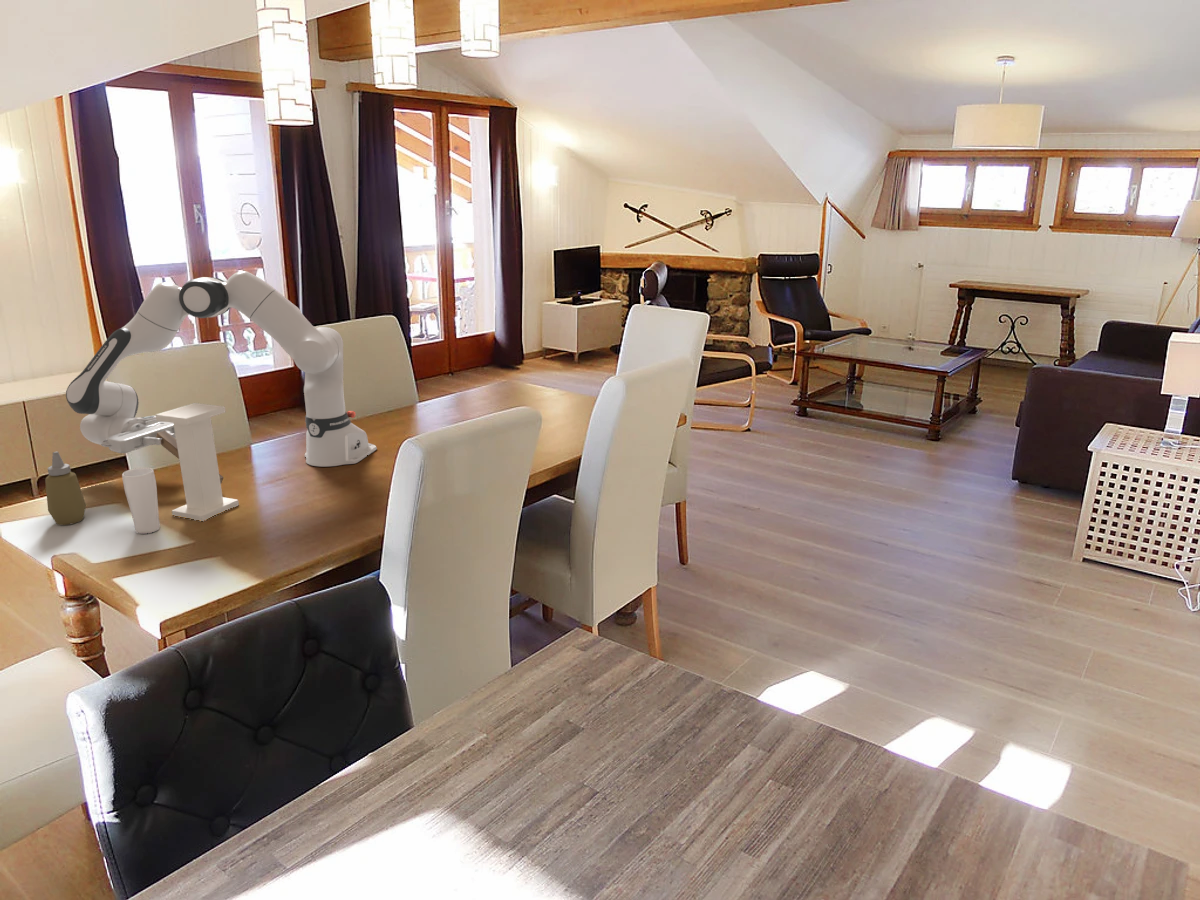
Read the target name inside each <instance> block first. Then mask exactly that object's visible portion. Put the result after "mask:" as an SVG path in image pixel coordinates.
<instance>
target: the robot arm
mask: <svg viewBox="0 0 1200 900" xmlns="http://www.w3.org/2000/svg"><path fill="white" fill-rule="evenodd" d="M231 308H232V309H235V310H237V311H239V312H240V313H242V314H243V315H244V316H245V317H246V318H248V319H249V320H250V321H252V322H253V323H254V324H255V325H257V326H258V327H259V328H260V329H262V330H263V331H264V332H265V333H267V334H268V335H269V336H270V337H272V339H273V340H274V341H276V342H277V344H278V345H279V346H280V347H281V348H282V349H283V350H284V352H286V354H287V355H288V356H289V357H290V358H291V359H292V360H293V361H294V364H295V365H296V367H297V369H299V370H301V371H302V372H304V385H303V393H304V394H303V395H304V403H305V412H306V415H305V421H304V423H305V427H306V429H307V430H306V433H305V436H306V437H305V439H306V441H305V442H306V444H305V445H306V448H305V450H306V452H305V453H304V458H305V457H306V458H305V463H306V464H307V465H309V466H314V467H320V468H321V467H337V466H342V465H354V464H357V463H359V462H360V461H362V460H363V459H365V458H367V457H368V456H369V455H371V454H372V453H374V452H375V451H376V450H377V449H378V448H377V446H376V445H375V444H373V443H369V440H368V439H369V438H368V435H367V433H366V431H365V430H363V429H361V428H360V427H358V426H357V425H355V424H354V423H352V421H351V419H354V418H355V417H356V415H357V414H356V411H354V410H348V411H346V403H345V395H344V340H343V338H342V335H341V333H340V332H338V331H337V330H336V329H334V328H332V327H329V326H319V327H315V326H314V325H312V323H311V322H310V321H309V320H308V319H307V318H306V317H305V315H304V314H303V313H302V311H301V309H300V308H299V307H298V306H296V305H295V304H294V303H292V301H291V300H289V299H288V298H286V297H285V296H284V295H283V294H282V293H281V292H279V291H278V290H276V289H275V288H274V287H273V285H270V284H269V283H268V282H266V281H265V280H263V279H262V278H260V277H259V276H257V275H255V274H253V273H251V272H250V271H247V270H240V271H237V272H235V273H233V274H232V275H230V277H229V278H228V279H226V280H225V281H224V280H223V279H222V278H218V277H213V276H211V277H207V276H202V277H197V278H193V279H190V280H188V281H186V282H185V283H184V284H183V286H179V285H177V284H174V283H172V282H164V281H163V282H159V283H158V284H156V285H155V286H154V287H153V288H152V290H151V291H149V293H148V295H146V297H145V299H144V300H143V301H142V303H141V305H140V307H139V308H138V310H137V312H135V314H134V316H133V317H132V318H131V319H130V320H129V322H127V323H126V324H125V325H124V326H122V327H121V328H118V329H116V330H114V331H113V332H112V333H111V334H110V335H109V336H108V338H107V339H106V340H105V341H104V342H103V344H102V345H101V346H100V347H99V349H98V350H97V352H96V353H95V354H94V355H93V357H92V358H91V360H90V361H89V362H88V364H87V365H86V366H85V367H84V369H83V370H82V372H80V373H79V374H78V375H77V376H76V377H75V378H74V379H73V380H71V382H70V383H69V385H68V386H67V388H66V391H65V397H66V398H65V399H66V401H67V404H68V405H69V407H70V408H71V410H73V411H74V412H75V413H77V414H82V415H85V416H84V417H83V418H82V419H81V420H80V424H79V430H80V432H81V434H82V436H83V438H85V439H86V440H88V441H89V442H91V443H93V444H97V445H100V446H101V447H105V448H108V449H109V450H110V452H111V451H112V452H115V453H118V454H127V453H131V452H133V451H136V450H140V449H142V448H146V447H148V446H162V445H161V444H163V443H164V441H163V438H162V437H156V435H157V433H158V432H161V431H164V430H165V431H166V432H167V433H169V434H170V435H171V436H172V437H174V438H175V439H176V436H175V430H174V424H173V423H171V422H163V421H156V415H147V416H141V417H136V415H137V413H138V410H139V403H140V402H139V397H138V393H137V391H136V390H135V389H134V388H133V387H132V386H131V385H129V384H124V383H119V382H113V381H107V380H108V378H109V377H110V375H111V374H112V372H113V371H114V370H115V369H116V367H117V366H118V365H119V364H120V362H121V361H122V360H124V359H126V358H128V357H130V356H133V355H136V354H137V355H138V354H143V353H144V354H145V353H152V352H153V353H154V352H157V351H160V350H163V349H165V348H167V347H168V346H169V345H170V344H171V343H172V342H173V340H174V339H175V337H176V335H177V333H178V331H179V330H180V327H181V325H182V324H183V322H184V321H185V319H186V318H187V317H188V316H189V315H190V316H192V317H195V318H197V319H207V318H215V317H219V316H222V315H223V314H226V313H227V312H228V311H229V310H230V309H231ZM350 418H351V419H350ZM367 455H368V456H367Z"/></svg>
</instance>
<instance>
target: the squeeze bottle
mask: <svg viewBox="0 0 1200 900" xmlns="http://www.w3.org/2000/svg"><path fill="white" fill-rule="evenodd" d="M51 460H52V462H51V465H50V466H49V467H47V468H46V469H47V472H48V473H47V474H48V475H47V476H46V477H45V479H44V480H45V492H46V493H45V494H46V500H47V503H46V504H47V510H48V512H49V515H50V516H51V518H52V519H53V521H54V522H55V524H56V525H59V526H68V525H74V524H76V523H79V522H81V521H83V520H84V518H85V512H86V507H87V506H86V505H87V503H86V501H85V497H84V495H83V492H82V491H83V490H82V489H81V485H80V483H79V479H78V477H77V474H76V473H75V472H72V470H71V466H70V464H68V463H64V461H63V458H62V457H61V455H60V453H59V451H54V452H52V459H51Z"/></svg>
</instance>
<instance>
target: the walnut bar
mask: <svg viewBox="0 0 1200 900" xmlns="http://www.w3.org/2000/svg"><path fill="white" fill-rule="evenodd" d="M156 437H162V438H163V441H164V443H163V444H161V445H160V446H161V447H163V448H164V449H165V450H167V451H168V452H169V453H171V454H172V455H173V456H174V457H175V458H176V459H178V460H179V454H178V448H177V442H176V439H175V438H174V437H172V436H171V435H170V434H169V433H167V432H166V431H165V430H164V431H161V432H158V433H157V435H156ZM219 476H220V483H221V484H222V483H223V480H224V476H223V475H221V474H220V473H219Z"/></svg>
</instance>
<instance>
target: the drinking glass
mask: <svg viewBox="0 0 1200 900" xmlns="http://www.w3.org/2000/svg"><path fill="white" fill-rule="evenodd" d="M121 477H122V483H123V489H124V493H125V497H126V501H127V504H128V507H129V510H130V514H131V517H132V520H133V524H134V531H135V532H136V533H137V534H139V535H141V534H142V535H146V534H147V533H148V534H152V532H153V533H155V532H157V531H159V530H160V528H161V524H160V523H161V522H160V516H159V515H160V514H159V503H158V501H159V500H158V489H157V481H156V476H155V472H154V469H153V468H151V467H137V468H136V467H135V468H132V469H128V470H125V471H124V472H122V474H121ZM148 534H147V535H148Z"/></svg>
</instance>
